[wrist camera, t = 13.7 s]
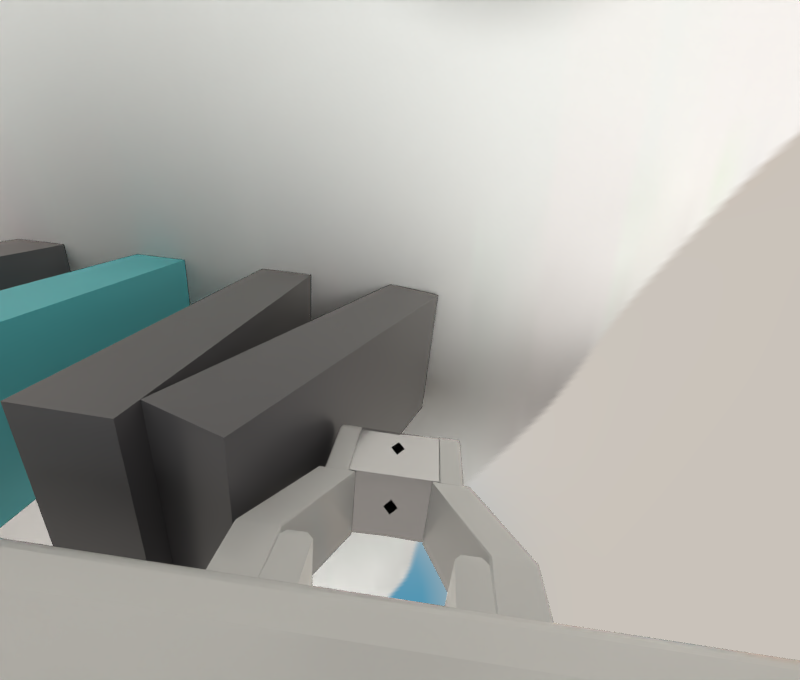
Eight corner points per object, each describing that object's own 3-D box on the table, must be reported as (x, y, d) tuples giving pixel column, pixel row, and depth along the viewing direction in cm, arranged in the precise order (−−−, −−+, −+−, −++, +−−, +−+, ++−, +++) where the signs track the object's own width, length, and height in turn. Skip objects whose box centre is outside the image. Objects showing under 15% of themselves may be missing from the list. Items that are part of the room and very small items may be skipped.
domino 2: (438, 295, 15) (223, 437, 6) (421, 407, 17) (243, 630, 8) (390, 284, 15) (140, 399, 7) (380, 393, 17) (177, 585, 9)
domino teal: (184, 260, 16) (-169, 378, 7) (197, 368, 18) (-60, 575, 9) (137, 254, 16) (-276, 363, 7) (155, 363, 18) (-144, 561, 9)
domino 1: (311, 274, 16) (113, 419, 6) (310, 383, 18) (158, 613, 8) (262, 268, 16) (-1, 401, 6) (267, 377, 18) (71, 596, 8)
